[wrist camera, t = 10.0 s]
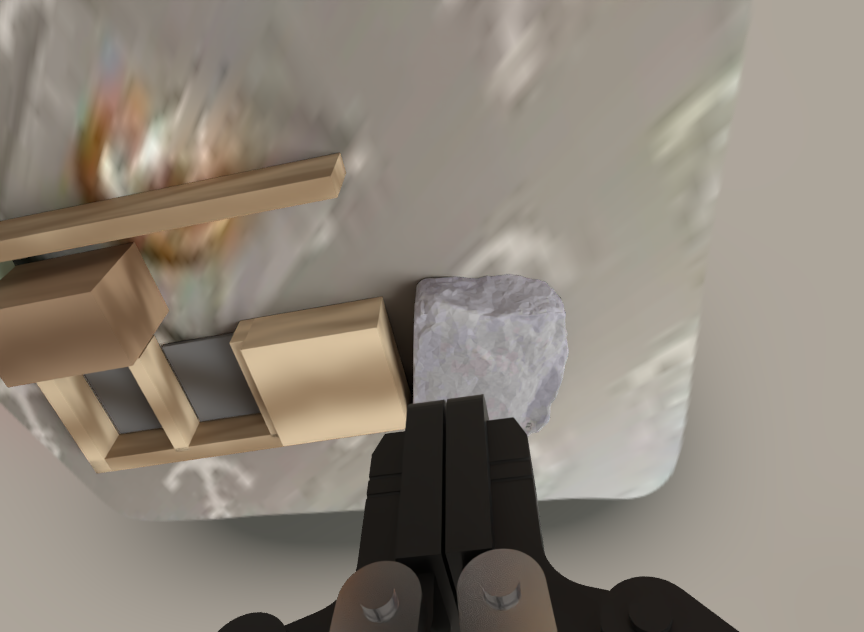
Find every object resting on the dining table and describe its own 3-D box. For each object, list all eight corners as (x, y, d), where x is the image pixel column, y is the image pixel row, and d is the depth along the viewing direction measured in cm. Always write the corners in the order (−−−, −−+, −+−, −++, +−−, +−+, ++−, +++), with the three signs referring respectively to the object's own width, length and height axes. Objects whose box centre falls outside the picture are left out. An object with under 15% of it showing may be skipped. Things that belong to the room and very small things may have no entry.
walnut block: (17, 264, 42) (-43, 317, 37) (134, 241, 41) (90, 291, 36) (57, 330, 45) (7, 387, 40) (169, 309, 44) (132, 365, 39)
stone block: (557, 258, 43) (402, 271, 42) (585, 299, 39) (414, 315, 38) (538, 398, 50) (404, 413, 48) (560, 444, 46) (415, 463, 44)
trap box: (-29, 226, 41) (-66, 254, 38) (340, 152, 38) (330, 175, 35) (111, 448, 50) (90, 483, 47) (413, 403, 47) (411, 438, 44)
